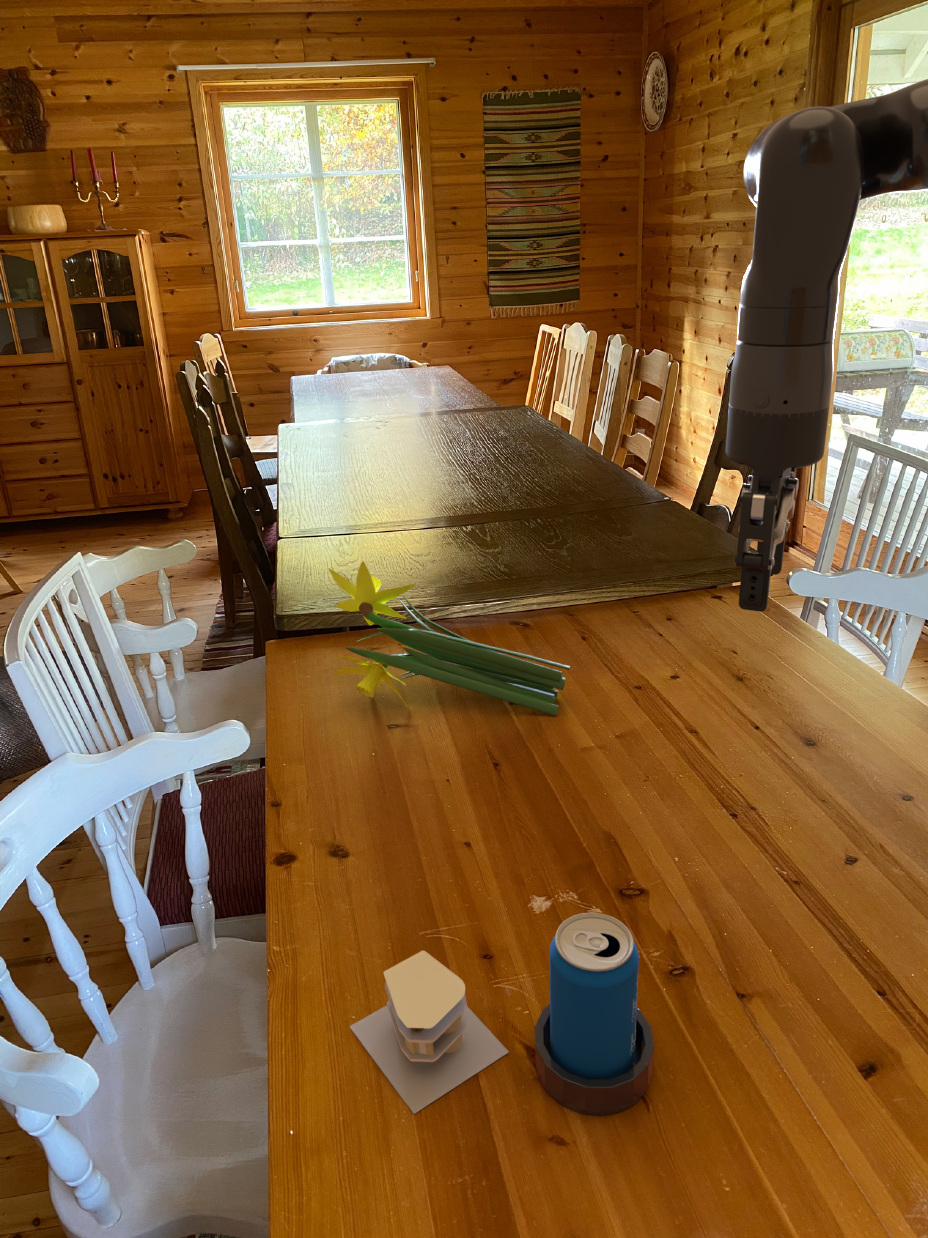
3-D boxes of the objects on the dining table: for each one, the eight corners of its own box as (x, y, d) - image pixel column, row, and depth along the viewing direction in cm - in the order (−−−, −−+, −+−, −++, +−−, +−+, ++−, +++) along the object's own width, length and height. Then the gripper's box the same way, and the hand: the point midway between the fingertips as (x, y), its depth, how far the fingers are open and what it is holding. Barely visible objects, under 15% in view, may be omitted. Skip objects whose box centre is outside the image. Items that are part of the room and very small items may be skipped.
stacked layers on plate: (349, 1027, 76) (342, 977, 73) (439, 975, 80) (435, 927, 78) (414, 1114, 68) (408, 1062, 66) (509, 1052, 73) (507, 1001, 70)
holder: (664, 1037, 73) (666, 1010, 72) (634, 1133, 66) (635, 1105, 65) (558, 1003, 77) (557, 976, 76) (518, 1091, 69) (517, 1063, 68)
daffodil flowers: (546, 754, 113) (280, 672, 116) (543, 750, 127) (306, 677, 130) (584, 624, 114) (321, 546, 117) (577, 634, 129) (342, 565, 132)
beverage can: (625, 1104, 67) (629, 983, 62) (540, 1080, 70) (538, 961, 65) (641, 1035, 73) (646, 919, 68) (562, 1015, 75) (562, 900, 70)
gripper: (820, 421, 64) (796, 629, 71) (837, 384, 76) (815, 566, 83) (712, 416, 67) (699, 616, 74) (745, 381, 79) (731, 557, 86)
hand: (760, 589), depth 78 cm, fingers open, 8 cm apart
